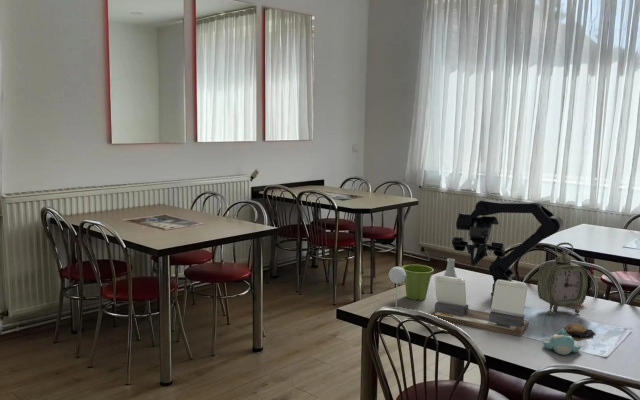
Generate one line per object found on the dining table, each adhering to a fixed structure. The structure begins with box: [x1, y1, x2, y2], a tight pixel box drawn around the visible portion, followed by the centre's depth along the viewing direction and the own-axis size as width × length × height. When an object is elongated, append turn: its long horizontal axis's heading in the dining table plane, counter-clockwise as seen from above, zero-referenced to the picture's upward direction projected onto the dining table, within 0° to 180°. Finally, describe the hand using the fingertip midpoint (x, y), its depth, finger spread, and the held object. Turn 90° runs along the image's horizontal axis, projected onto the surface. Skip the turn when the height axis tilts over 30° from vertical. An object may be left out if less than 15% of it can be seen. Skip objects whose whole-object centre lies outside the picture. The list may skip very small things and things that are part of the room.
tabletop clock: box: [537, 242, 589, 316], centre depth 202 cm, size 14×9×25 cm, turn 102°
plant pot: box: [401, 264, 434, 301], centre depth 217 cm, size 12×12×11 cm
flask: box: [443, 258, 458, 278], centre depth 237 cm, size 7×7×10 cm
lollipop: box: [388, 266, 406, 308], centre depth 204 cm, size 6×6×15 cm
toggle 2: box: [490, 280, 528, 315], centre depth 189 cm, size 2×10×10 cm, turn 59°
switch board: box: [428, 301, 529, 337], centre depth 193 cm, size 12×30×4 cm, turn 59°
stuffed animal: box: [542, 327, 582, 356], centre depth 171 cm, size 11×7×12 cm
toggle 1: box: [434, 274, 468, 306], centre depth 195 cm, size 2×10×10 cm, turn 59°
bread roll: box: [560, 322, 597, 341], centre depth 183 cm, size 11×8×4 cm
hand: (472, 265), depth 212 cm, fingers closed
